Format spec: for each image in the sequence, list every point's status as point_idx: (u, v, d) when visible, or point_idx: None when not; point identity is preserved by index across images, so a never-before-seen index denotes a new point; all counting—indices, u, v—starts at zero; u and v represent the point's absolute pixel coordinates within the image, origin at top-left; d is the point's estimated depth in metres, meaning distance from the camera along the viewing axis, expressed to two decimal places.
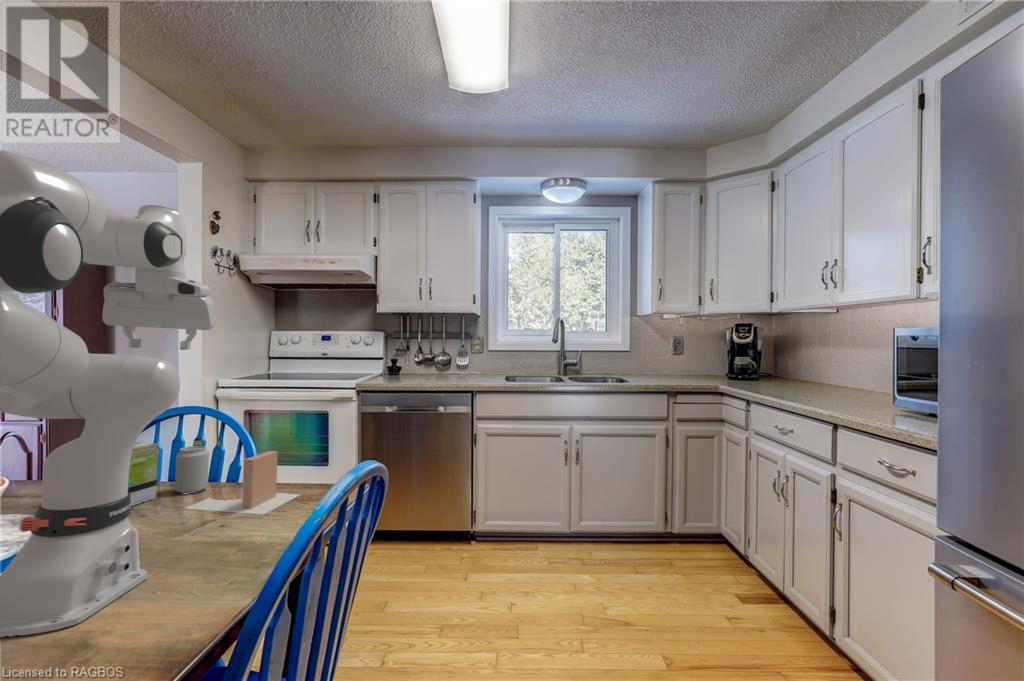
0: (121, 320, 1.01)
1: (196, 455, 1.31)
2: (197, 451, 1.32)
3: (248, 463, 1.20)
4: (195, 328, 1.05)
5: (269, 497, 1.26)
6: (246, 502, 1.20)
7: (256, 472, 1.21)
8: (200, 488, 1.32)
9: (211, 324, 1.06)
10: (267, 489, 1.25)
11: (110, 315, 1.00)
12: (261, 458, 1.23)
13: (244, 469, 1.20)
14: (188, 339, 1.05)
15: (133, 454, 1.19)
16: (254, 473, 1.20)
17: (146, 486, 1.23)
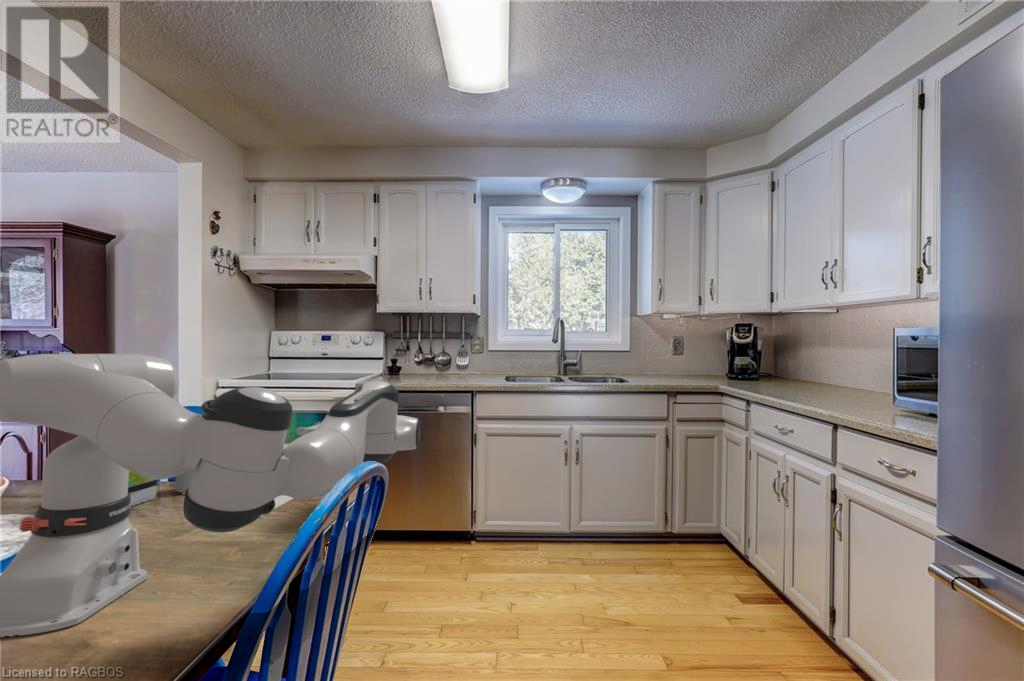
0: None
1: None
2: None
3: None
4: None
5: None
6: None
7: None
8: None
9: None
10: None
11: None
12: None
13: None
14: None
15: None
16: None
17: (146, 486, 1.23)
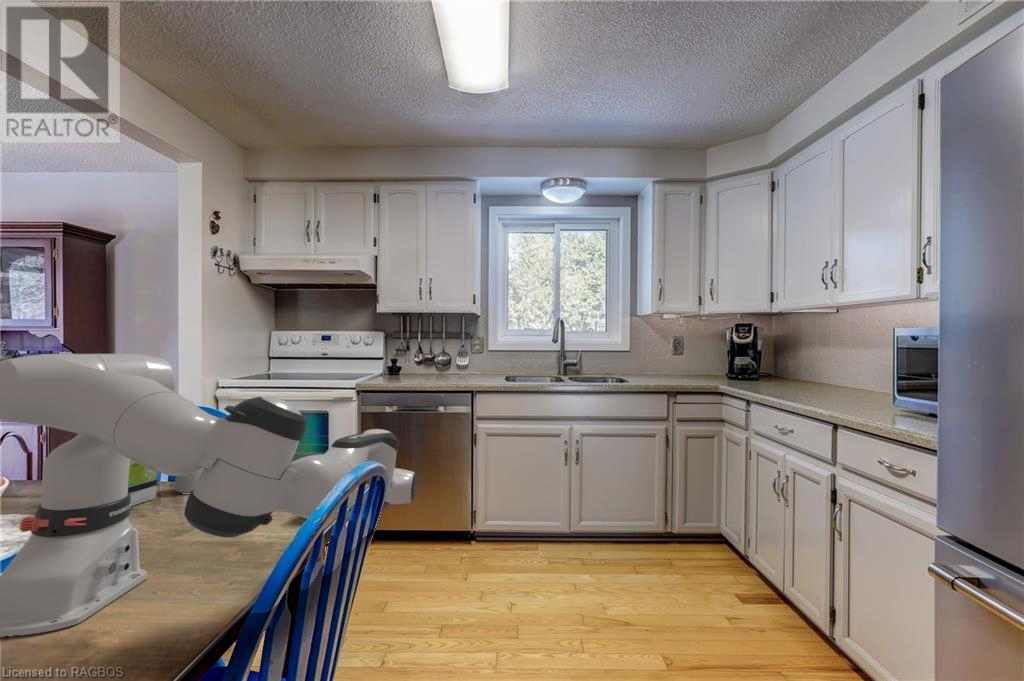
0: None
1: None
2: None
3: None
4: None
5: None
6: None
7: None
8: None
9: None
10: None
11: None
12: None
13: None
14: None
15: None
16: None
17: (146, 486, 1.23)
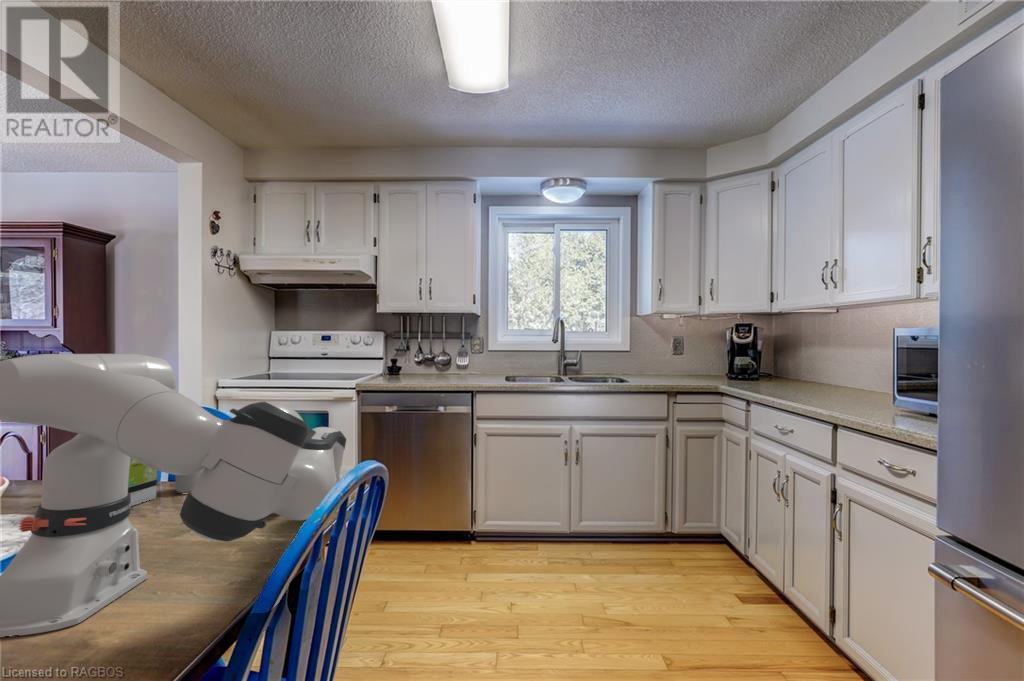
0: None
1: None
2: None
3: None
4: None
5: None
6: None
7: None
8: None
9: None
10: None
11: None
12: None
13: None
14: None
15: None
16: None
17: (146, 486, 1.23)
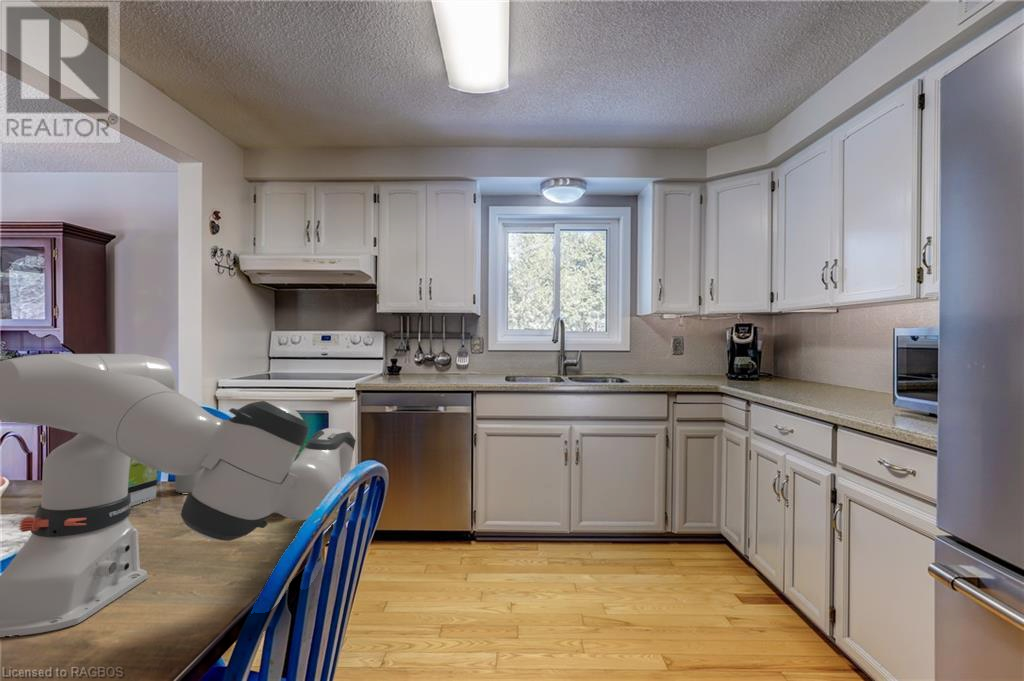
0: None
1: None
2: None
3: None
4: None
5: None
6: None
7: None
8: None
9: None
10: None
11: None
12: None
13: None
14: None
15: None
16: None
17: (146, 486, 1.23)
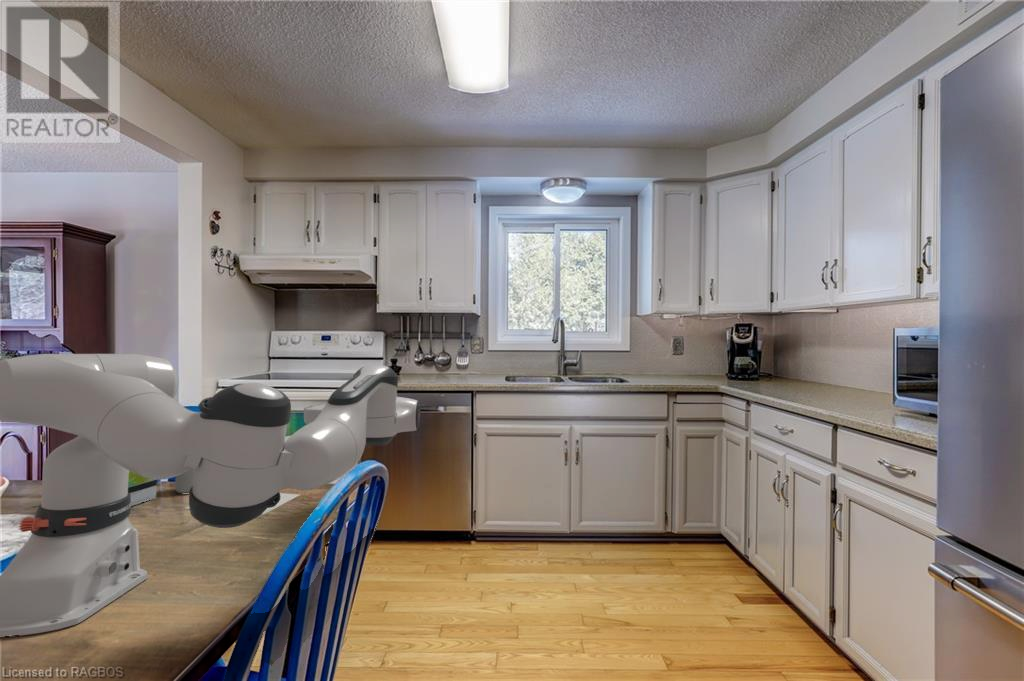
0: None
1: None
2: None
3: None
4: None
5: None
6: None
7: None
8: None
9: None
10: None
11: None
12: None
13: None
14: None
15: None
16: None
17: (146, 486, 1.23)
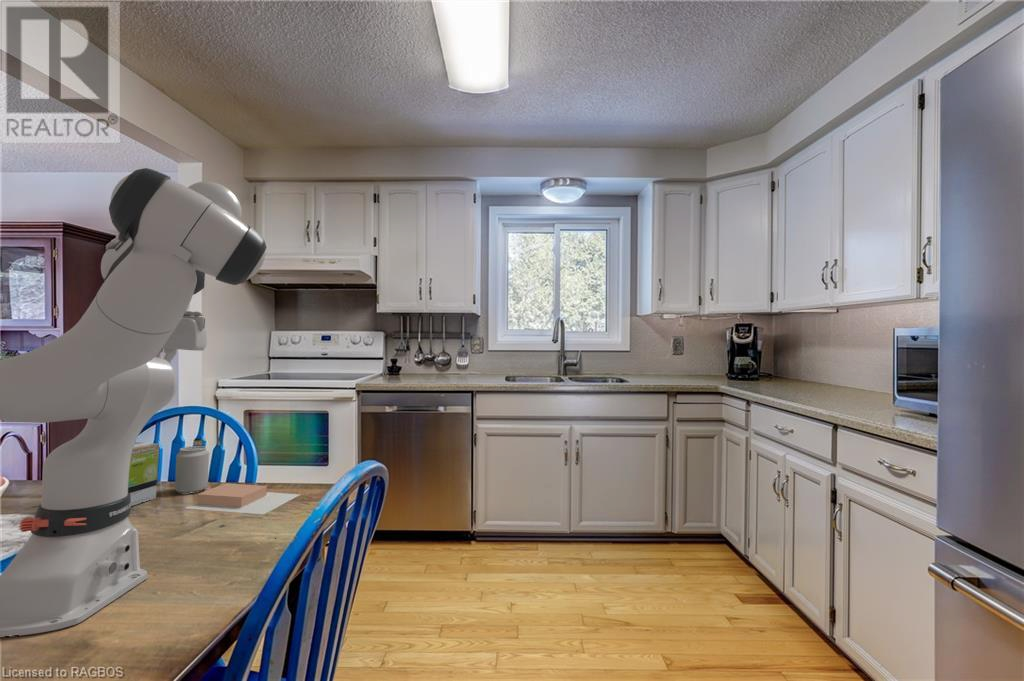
0: None
1: (196, 455, 1.31)
2: (197, 451, 1.32)
3: (200, 499, 1.21)
4: None
5: (257, 488, 1.27)
6: (235, 502, 1.20)
7: (213, 493, 1.22)
8: (200, 488, 1.32)
9: None
10: (246, 489, 1.26)
11: None
12: (208, 490, 1.24)
13: (205, 503, 1.21)
14: None
15: (133, 454, 1.19)
16: (213, 494, 1.22)
17: (146, 486, 1.23)
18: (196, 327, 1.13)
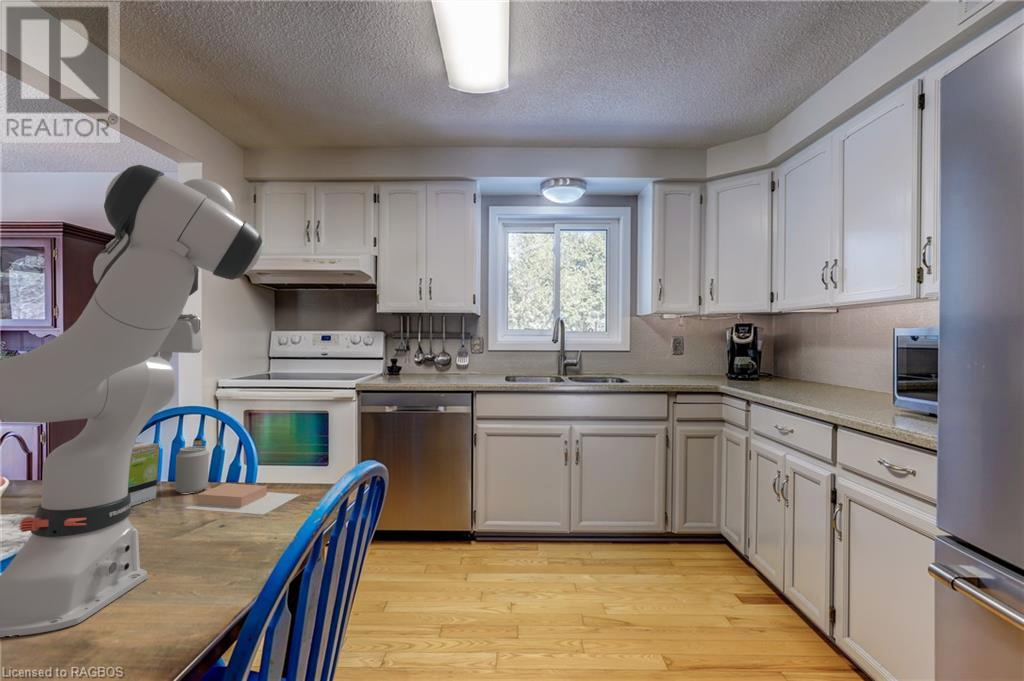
0: None
1: (196, 455, 1.31)
2: (197, 451, 1.32)
3: (200, 499, 1.21)
4: None
5: (257, 488, 1.27)
6: (235, 502, 1.20)
7: (213, 493, 1.22)
8: (200, 488, 1.32)
9: None
10: (246, 489, 1.26)
11: None
12: (208, 490, 1.24)
13: (205, 503, 1.21)
14: None
15: (133, 454, 1.19)
16: (213, 494, 1.22)
17: (146, 486, 1.23)
18: (192, 329, 1.13)
